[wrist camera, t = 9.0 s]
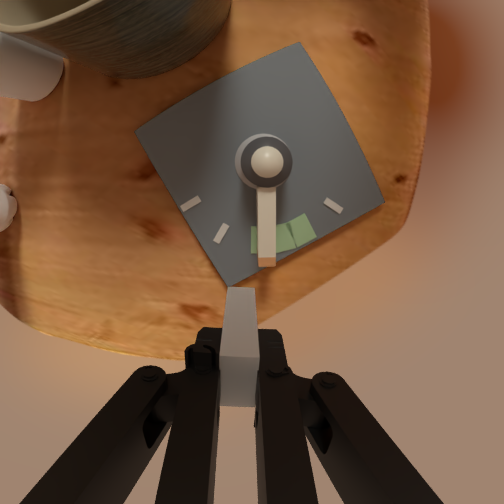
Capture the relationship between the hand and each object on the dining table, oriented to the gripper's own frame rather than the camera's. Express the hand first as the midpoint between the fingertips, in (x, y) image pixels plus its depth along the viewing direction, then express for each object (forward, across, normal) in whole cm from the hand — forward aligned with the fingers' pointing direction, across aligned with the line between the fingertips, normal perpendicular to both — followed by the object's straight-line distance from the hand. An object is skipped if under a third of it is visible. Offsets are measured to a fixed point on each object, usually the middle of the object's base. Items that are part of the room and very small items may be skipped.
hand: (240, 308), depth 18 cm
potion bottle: (+21, -29, +22) cm, 42 cm away
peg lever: (+19, +2, +4) cm, 19 cm away
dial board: (+20, +2, +8) cm, 22 cm away
